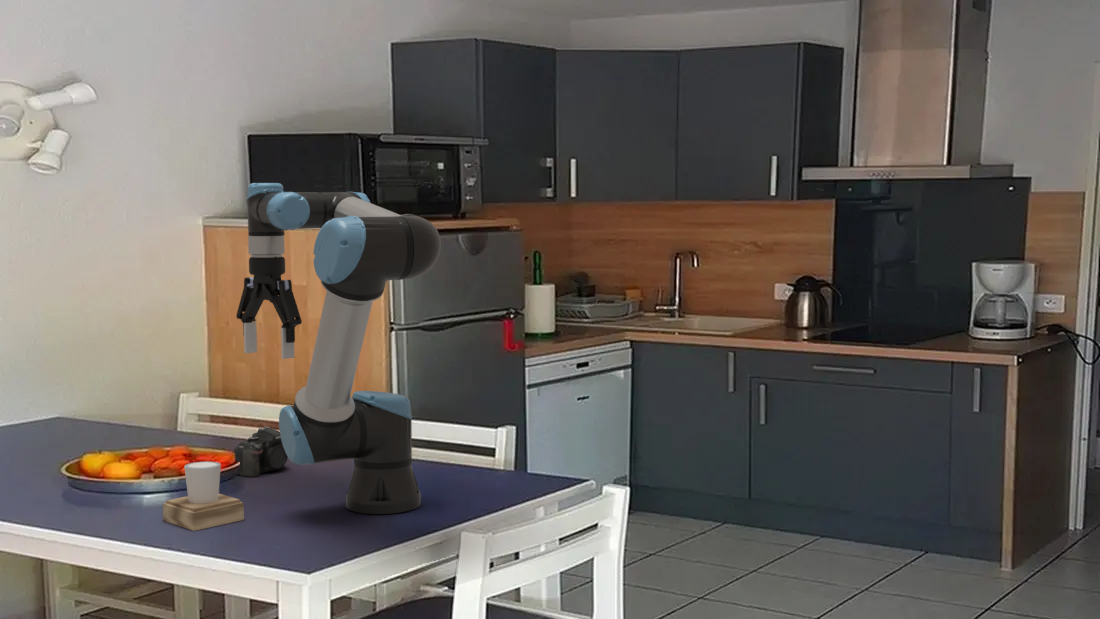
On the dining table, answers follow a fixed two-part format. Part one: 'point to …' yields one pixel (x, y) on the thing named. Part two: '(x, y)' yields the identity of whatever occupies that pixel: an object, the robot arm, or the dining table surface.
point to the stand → (203, 512)
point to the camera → (260, 453)
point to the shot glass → (202, 481)
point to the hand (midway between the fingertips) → (269, 355)
